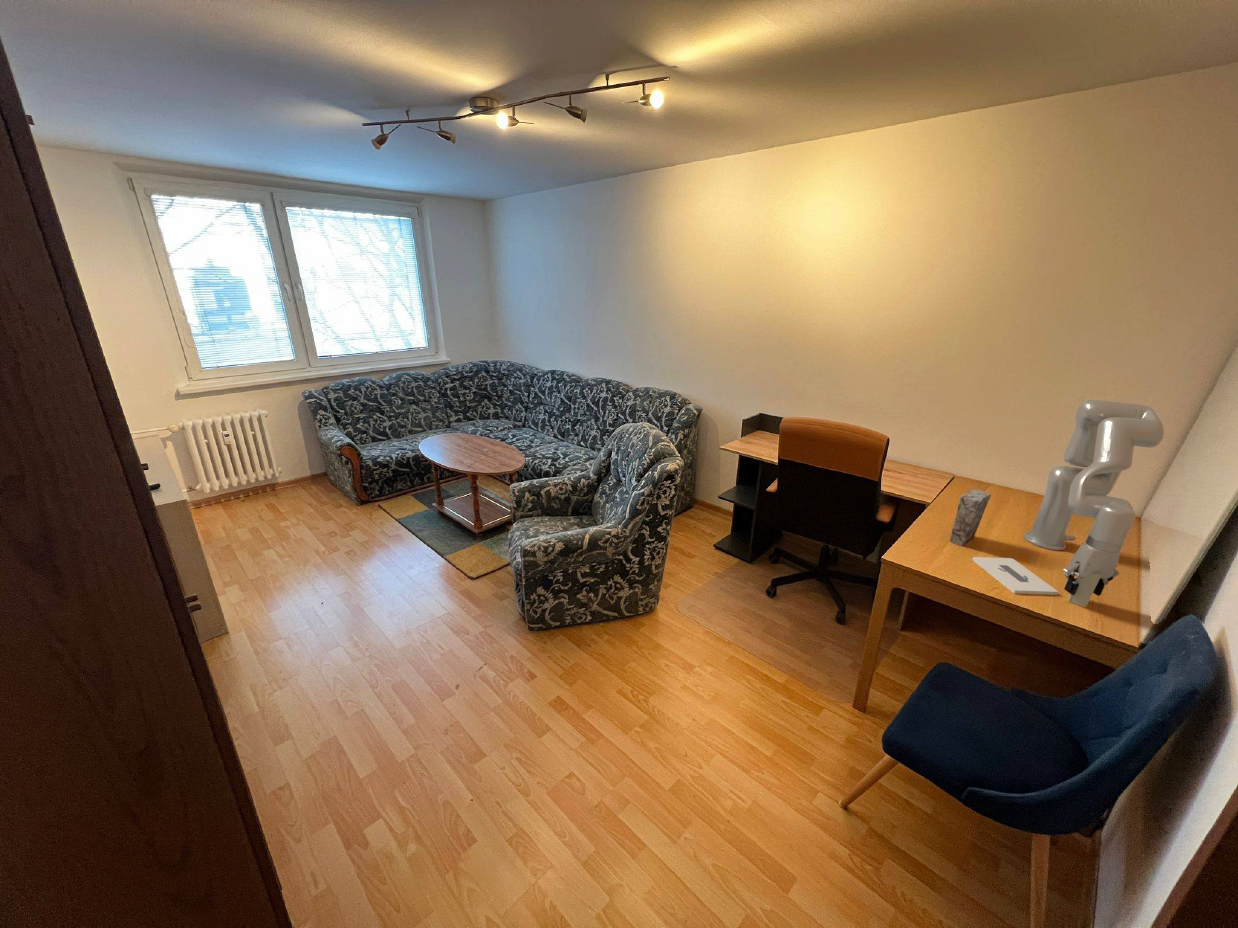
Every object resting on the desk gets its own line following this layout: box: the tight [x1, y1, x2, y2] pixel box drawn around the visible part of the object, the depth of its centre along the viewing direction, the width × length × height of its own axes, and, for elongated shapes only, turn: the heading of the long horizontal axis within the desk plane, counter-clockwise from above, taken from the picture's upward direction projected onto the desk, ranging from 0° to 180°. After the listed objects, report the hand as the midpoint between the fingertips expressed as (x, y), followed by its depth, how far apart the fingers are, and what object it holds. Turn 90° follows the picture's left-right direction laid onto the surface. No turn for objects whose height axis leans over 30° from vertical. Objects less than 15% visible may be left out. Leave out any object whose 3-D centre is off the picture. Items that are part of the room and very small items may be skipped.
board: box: [972, 556, 1059, 596], centre depth 163 cm, size 14×20×1 cm
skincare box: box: [1067, 573, 1102, 608], centre depth 149 cm, size 6×4×12 cm
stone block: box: [949, 488, 991, 547], centre depth 183 cm, size 13×7×20 cm, turn 132°
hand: (1081, 592), depth 150 cm, fingers closed on skincare box, 7 cm apart
